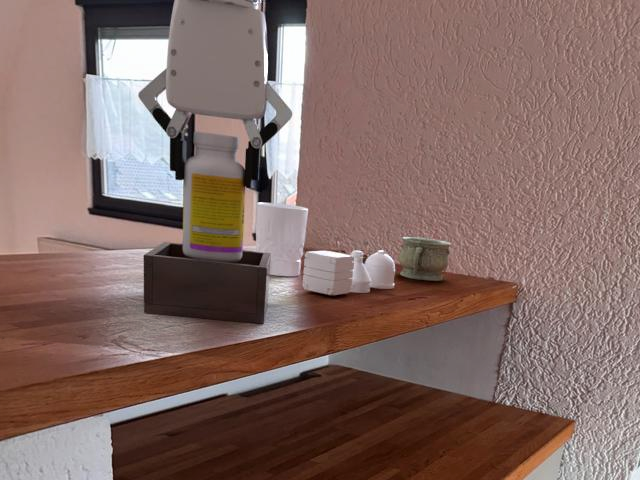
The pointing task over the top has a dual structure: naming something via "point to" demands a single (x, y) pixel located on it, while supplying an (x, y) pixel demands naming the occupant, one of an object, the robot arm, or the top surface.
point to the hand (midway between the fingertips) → (214, 182)
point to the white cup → (281, 236)
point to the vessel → (424, 258)
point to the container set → (347, 272)
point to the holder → (206, 285)
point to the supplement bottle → (213, 200)
